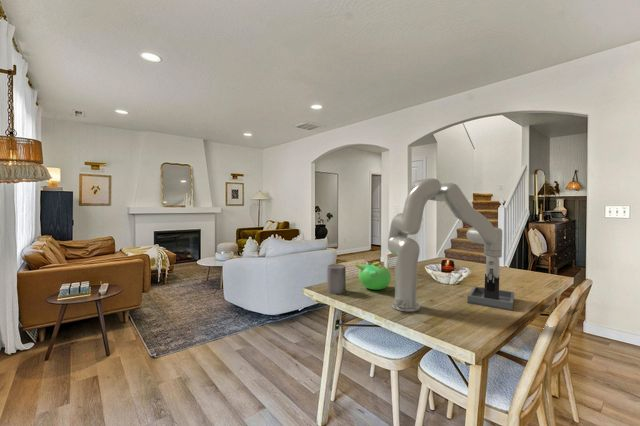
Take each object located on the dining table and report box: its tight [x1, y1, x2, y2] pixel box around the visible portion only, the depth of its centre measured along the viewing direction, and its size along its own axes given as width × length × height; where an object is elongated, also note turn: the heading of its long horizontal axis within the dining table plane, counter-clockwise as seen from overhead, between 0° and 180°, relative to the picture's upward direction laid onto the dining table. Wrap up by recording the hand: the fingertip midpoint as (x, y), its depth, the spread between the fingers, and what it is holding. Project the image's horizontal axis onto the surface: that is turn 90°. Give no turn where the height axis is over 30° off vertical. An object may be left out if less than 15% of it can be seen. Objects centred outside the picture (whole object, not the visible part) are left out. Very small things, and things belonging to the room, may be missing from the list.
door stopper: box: [484, 273, 500, 300], centre depth 146 cm, size 9×6×12 cm, turn 148°
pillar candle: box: [326, 263, 347, 295], centre depth 160 cm, size 10×10×15 cm
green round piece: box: [353, 261, 392, 291], centre depth 165 cm, size 18×17×15 cm
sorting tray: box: [467, 286, 515, 312], centre depth 147 cm, size 20×18×4 cm
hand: (491, 288), depth 146 cm, fingers open, 9 cm apart
